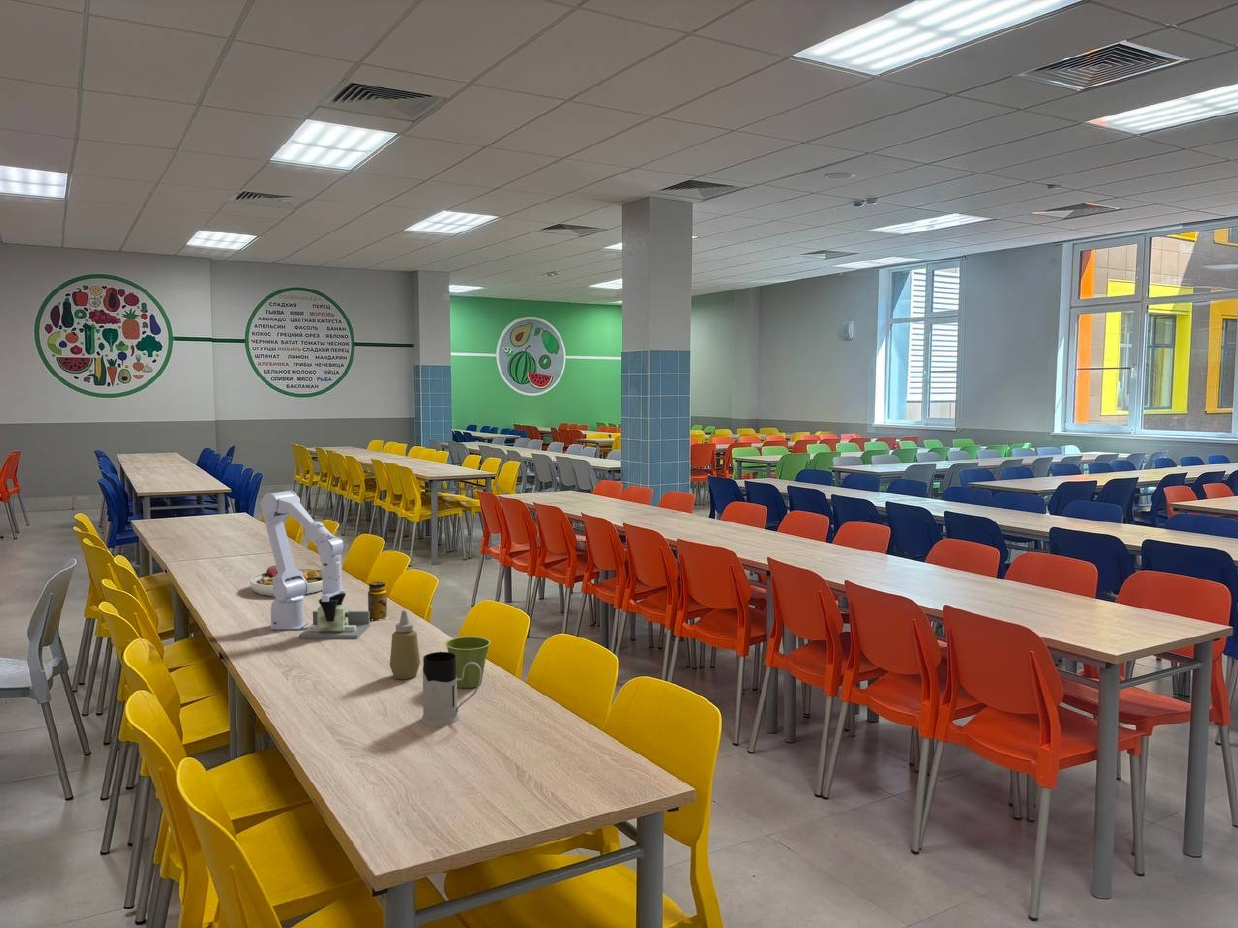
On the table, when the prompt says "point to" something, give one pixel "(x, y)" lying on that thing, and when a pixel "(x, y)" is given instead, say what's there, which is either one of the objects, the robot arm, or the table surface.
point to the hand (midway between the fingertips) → (333, 618)
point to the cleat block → (339, 619)
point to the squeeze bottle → (404, 650)
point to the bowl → (265, 583)
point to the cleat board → (353, 630)
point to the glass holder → (441, 689)
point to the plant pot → (468, 658)
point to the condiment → (377, 601)
